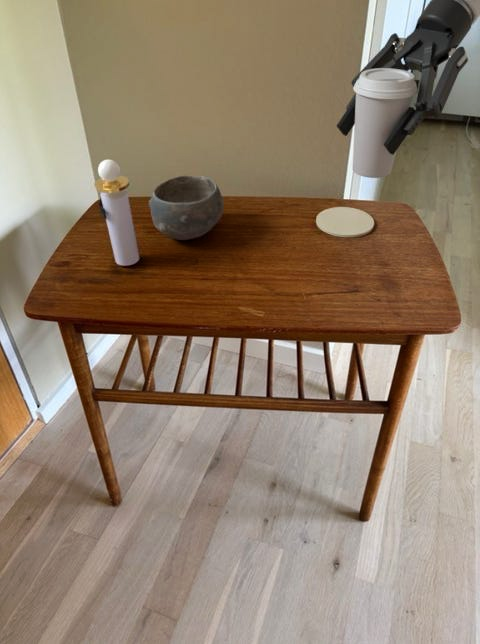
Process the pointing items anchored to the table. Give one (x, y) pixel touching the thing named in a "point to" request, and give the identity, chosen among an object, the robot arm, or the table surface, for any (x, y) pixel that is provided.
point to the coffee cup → (379, 117)
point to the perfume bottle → (117, 212)
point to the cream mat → (345, 222)
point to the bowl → (186, 206)
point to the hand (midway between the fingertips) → (363, 139)
